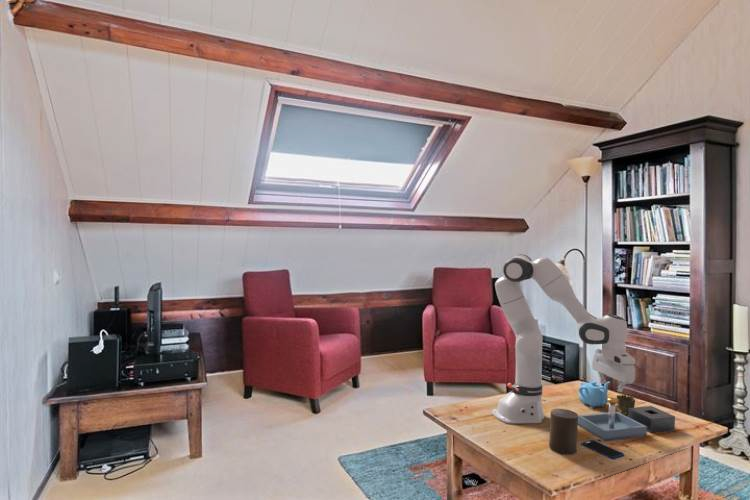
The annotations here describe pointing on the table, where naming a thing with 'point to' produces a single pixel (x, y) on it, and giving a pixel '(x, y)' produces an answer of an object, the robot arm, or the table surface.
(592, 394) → the teapot
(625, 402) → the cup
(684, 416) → the table surface
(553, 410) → the pillar candle
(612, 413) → the pin
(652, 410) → the block
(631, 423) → the tray
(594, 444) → the cell phone
